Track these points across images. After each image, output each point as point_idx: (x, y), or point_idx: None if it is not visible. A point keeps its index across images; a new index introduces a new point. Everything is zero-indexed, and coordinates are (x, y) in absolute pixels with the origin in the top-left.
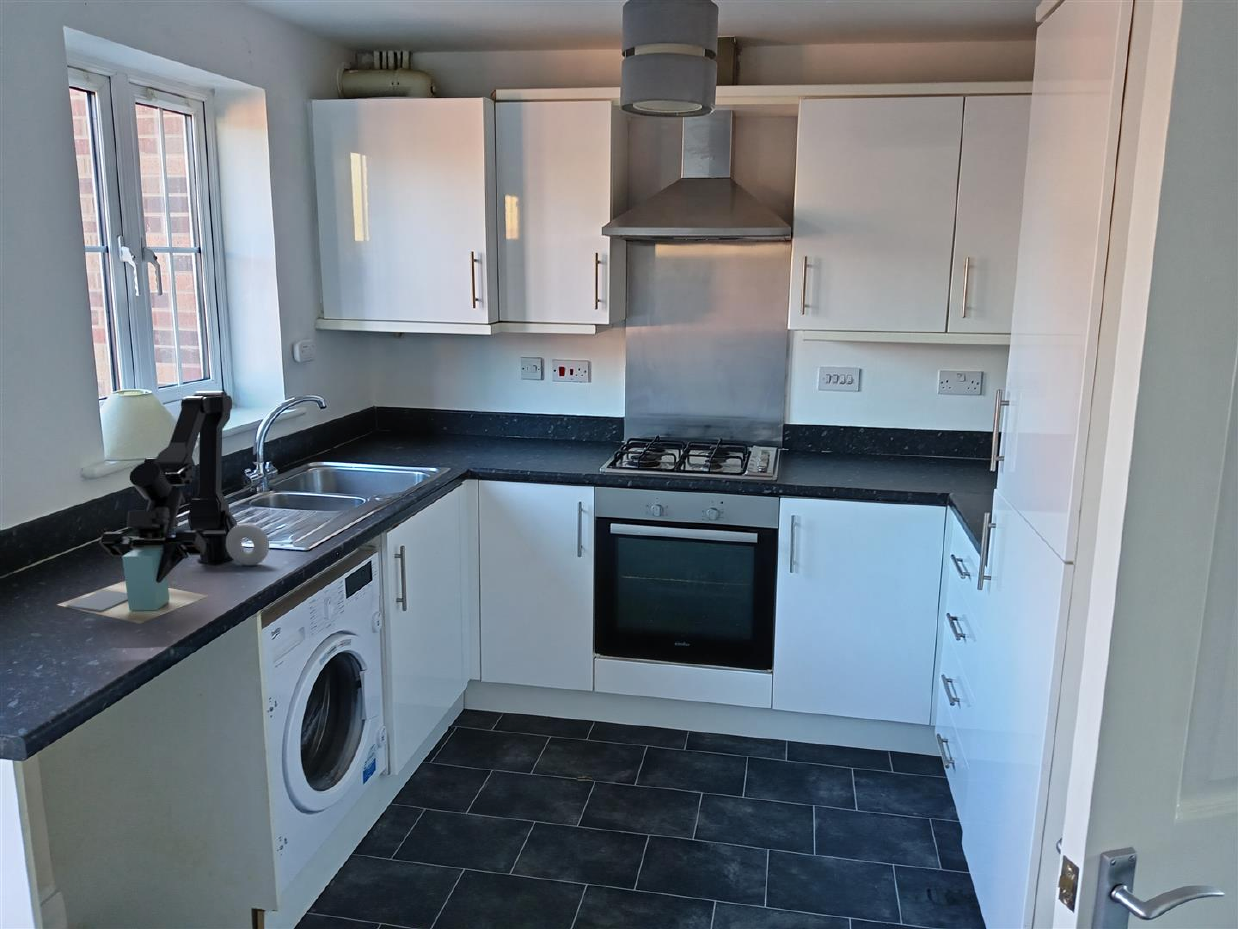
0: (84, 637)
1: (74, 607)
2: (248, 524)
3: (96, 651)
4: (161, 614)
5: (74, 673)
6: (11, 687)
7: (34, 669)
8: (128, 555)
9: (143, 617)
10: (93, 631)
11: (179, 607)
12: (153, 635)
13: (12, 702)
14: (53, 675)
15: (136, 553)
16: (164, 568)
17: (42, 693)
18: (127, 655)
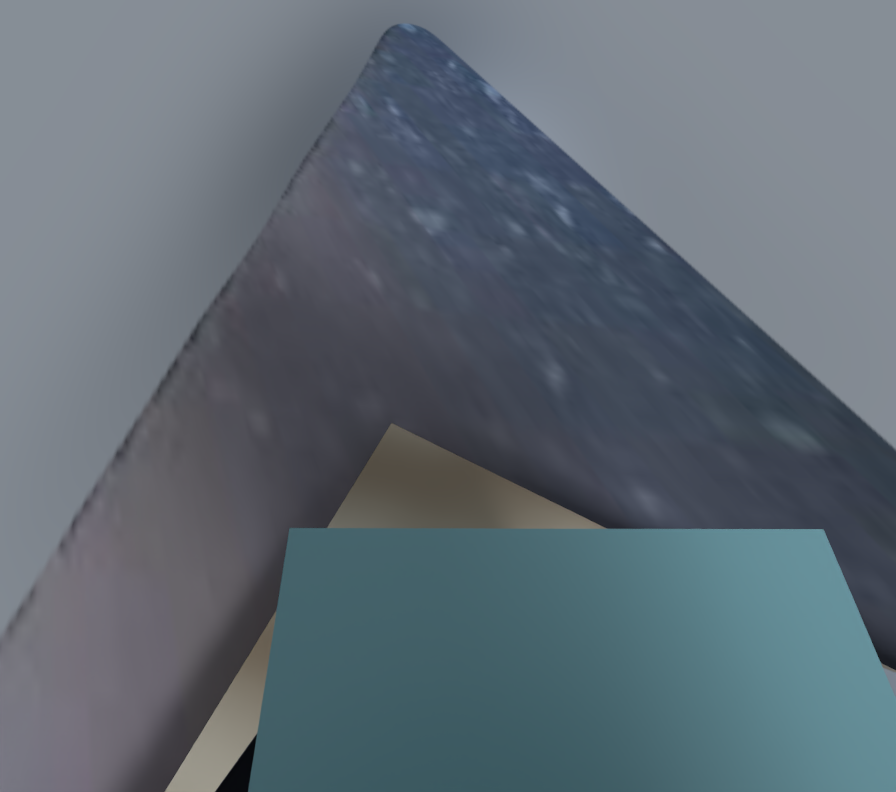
0: (587, 393)
1: (885, 671)
2: None
3: (466, 283)
4: None
5: (445, 175)
6: (550, 140)
7: (568, 204)
8: (762, 591)
9: (407, 498)
10: (594, 449)
11: (244, 666)
12: (317, 390)
13: (497, 94)
14: (493, 173)
15: (708, 760)
16: (228, 783)
17: (459, 112)
18: (347, 248)
